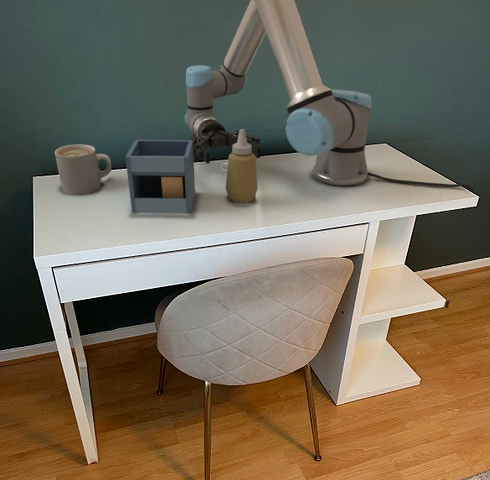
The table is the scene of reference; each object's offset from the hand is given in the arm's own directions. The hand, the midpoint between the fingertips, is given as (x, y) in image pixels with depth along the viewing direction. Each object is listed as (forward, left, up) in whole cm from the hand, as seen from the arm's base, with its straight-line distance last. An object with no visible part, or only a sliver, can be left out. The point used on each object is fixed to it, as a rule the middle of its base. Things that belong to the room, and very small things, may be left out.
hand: (233, 155), depth 127 cm
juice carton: (+15, +9, -9) cm, 19 cm away
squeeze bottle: (-2, +5, -10) cm, 12 cm away
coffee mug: (+39, -3, -10) cm, 40 cm away
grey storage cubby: (+17, +9, -10) cm, 22 cm away
